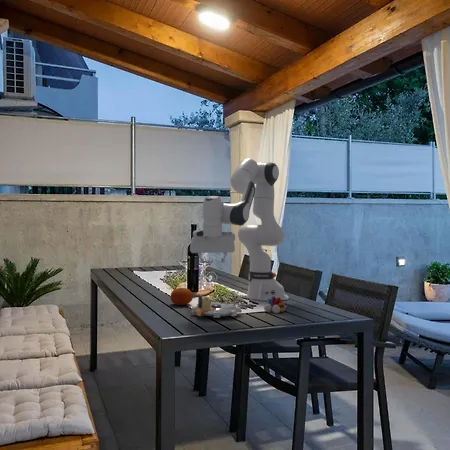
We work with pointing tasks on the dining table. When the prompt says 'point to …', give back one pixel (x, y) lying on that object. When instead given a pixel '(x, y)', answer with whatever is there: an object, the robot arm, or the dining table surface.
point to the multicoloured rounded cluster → (274, 305)
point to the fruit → (181, 296)
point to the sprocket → (216, 309)
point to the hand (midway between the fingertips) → (212, 262)
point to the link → (206, 303)
